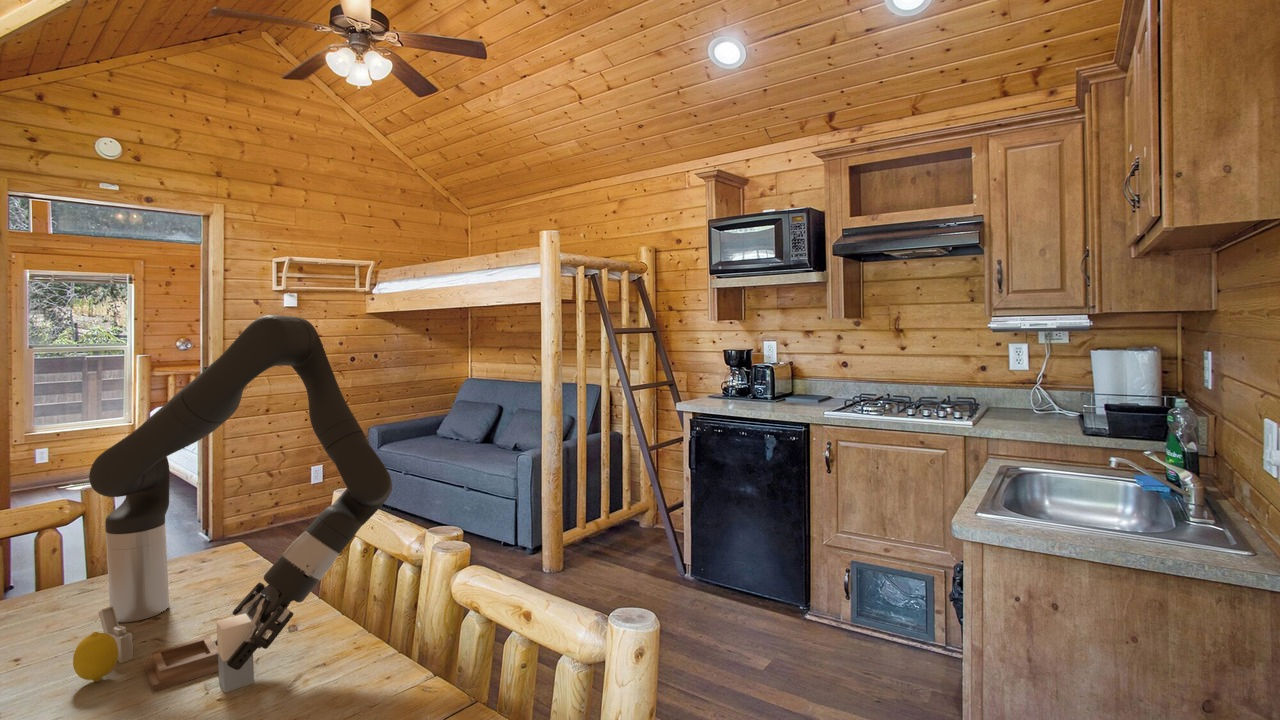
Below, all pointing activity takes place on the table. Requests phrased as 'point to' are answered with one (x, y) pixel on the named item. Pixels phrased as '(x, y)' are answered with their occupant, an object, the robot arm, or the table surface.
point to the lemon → (95, 656)
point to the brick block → (228, 641)
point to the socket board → (182, 663)
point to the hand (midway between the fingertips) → (225, 656)
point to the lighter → (117, 633)
